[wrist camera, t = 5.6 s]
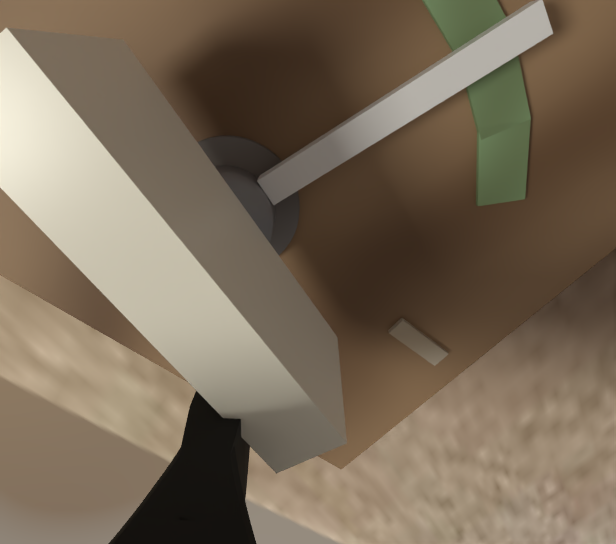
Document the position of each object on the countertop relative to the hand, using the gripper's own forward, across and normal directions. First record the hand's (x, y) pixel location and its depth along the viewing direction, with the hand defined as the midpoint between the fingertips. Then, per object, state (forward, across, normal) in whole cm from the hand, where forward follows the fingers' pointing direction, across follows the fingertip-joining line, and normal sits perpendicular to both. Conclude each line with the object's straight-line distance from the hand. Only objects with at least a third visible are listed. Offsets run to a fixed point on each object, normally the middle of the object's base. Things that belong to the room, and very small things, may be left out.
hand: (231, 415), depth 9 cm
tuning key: (+3, -2, -6) cm, 7 cm away
